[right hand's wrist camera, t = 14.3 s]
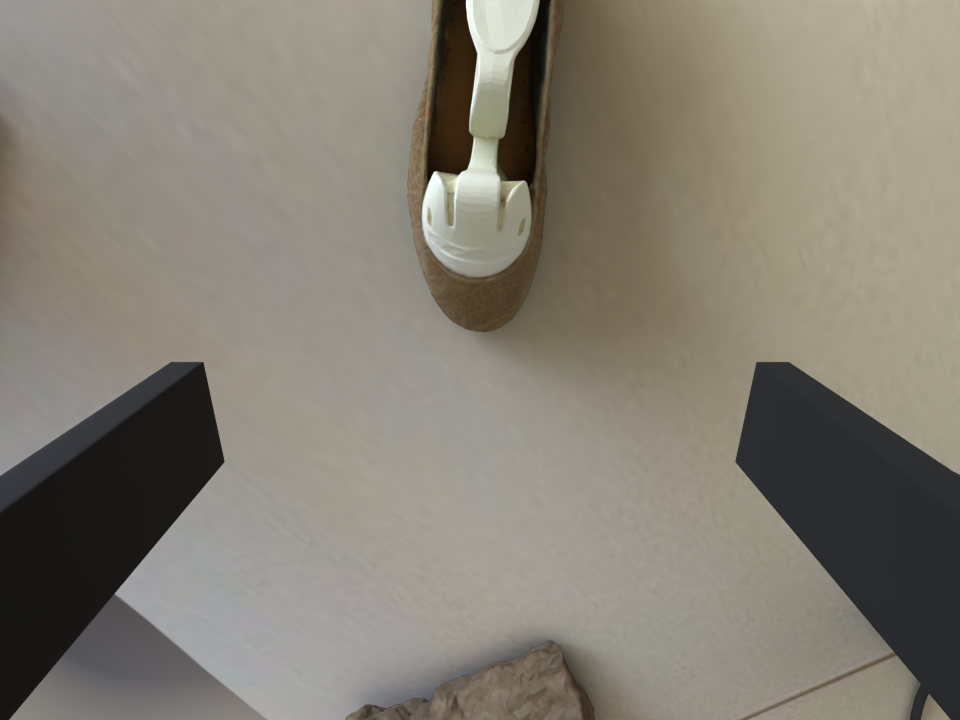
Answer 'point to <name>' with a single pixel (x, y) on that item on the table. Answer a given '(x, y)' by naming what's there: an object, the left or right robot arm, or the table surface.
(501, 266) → the ballet flat
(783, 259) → the table surface
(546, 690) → the stone
